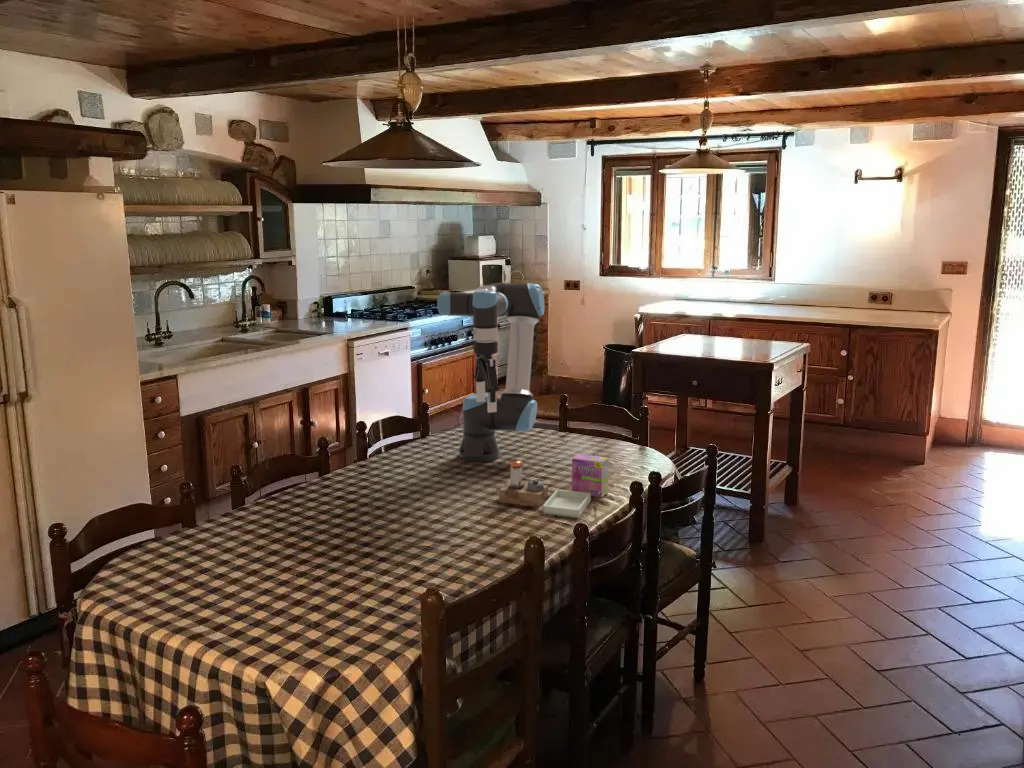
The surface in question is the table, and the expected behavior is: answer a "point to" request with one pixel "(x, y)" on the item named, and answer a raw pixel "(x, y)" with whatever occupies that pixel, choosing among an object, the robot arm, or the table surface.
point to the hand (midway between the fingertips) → (486, 406)
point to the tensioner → (524, 493)
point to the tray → (566, 503)
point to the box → (590, 474)
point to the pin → (516, 474)
